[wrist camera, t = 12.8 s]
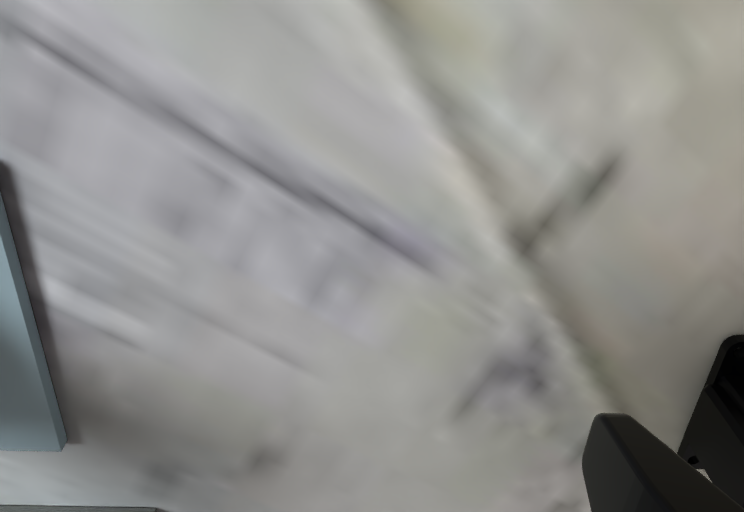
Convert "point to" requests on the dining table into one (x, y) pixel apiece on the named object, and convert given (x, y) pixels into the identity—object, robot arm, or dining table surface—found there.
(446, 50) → the dining table surface
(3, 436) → the mat
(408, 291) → the dining table surface
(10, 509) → the socket block
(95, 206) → the dining table surface
